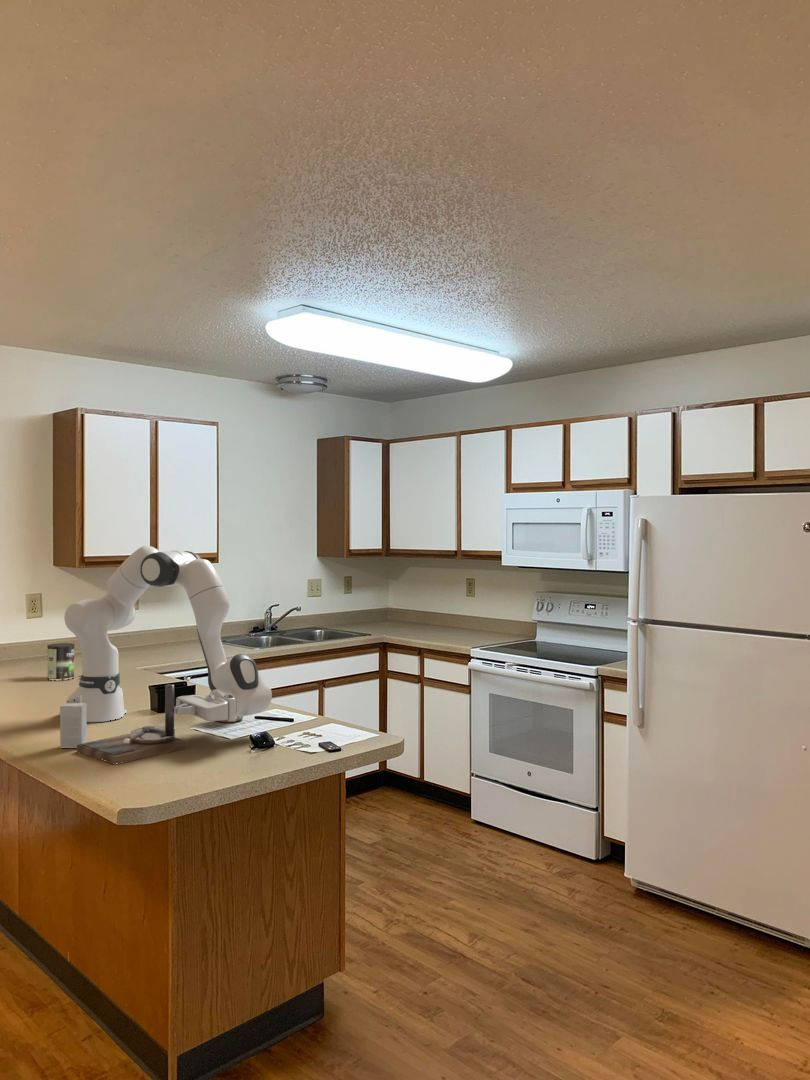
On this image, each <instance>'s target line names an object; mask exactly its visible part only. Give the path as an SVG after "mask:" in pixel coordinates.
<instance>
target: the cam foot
mask: <svg viewBox="0 0 810 1080" xmlns="http://www.w3.org/2000/svg"><path fill="white" fill-rule="evenodd" d="M164 687H165V691H164V693H165V694H164V697H165V698H164V699H165V700H164V701H165V703H164V726H163V725H148V726H147V725H145V726H141V727H139V728H136V729H133V730H131V731H130V733H131V738H130V739H128V738H125V739H124V740H123V743H124V745H128V744H130V741H132V742H134V743H140V744H154V743H162V742H167V741H170V740H173V739H174V738H176V729H175V713H174V707H175V684H173V683H172V684H170V683H168V684H165V686H164Z"/></svg>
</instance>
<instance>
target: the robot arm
mask: <svg viewBox="0 0 810 1080" xmlns="http://www.w3.org/2000/svg"><path fill="white" fill-rule="evenodd" d="M150 586H153V587H160V588H162V587H177V586H181V587H183V589H184V590H185V592H186V595H187V598H188V600H189V603H190V605H191V608H192V612H193V614H194V615H193V616H194V619H195V625H196V631H197V636H198V640H199V644H200V646H201V650H202V654H203V658H204V660H205V663H206V667H207V683H208V687H209V689H210V692H209V694H208V695H206V696H205V695H203V694H190V695H188V694H187V695H181V696H178V697H176V698H175V706H174V715H175V714H176V715H178V716H181V715H191V716H194V717H196V718H199V719H202V720H204V721H208V722H216V721H219V720H226V721H233V720H235V717H236V716H243V717H247V716H252V715H257V714H261V713H263V712H265V711H266V710H267V709H268V708H269V707H270V705H271V704H272V703H271V702H272V698H273V693H272V689H271V687H270V686H269V685H268V684H267V683H266V682H265V681H264V679H262V676H261V675H260V673H259V669H258V664H257V663H256V661H255V659H253V658H252V657H251V656H250V655H248V654H245V653H238V654H235V655H234V656H232V657H231V658H229V659H227V655H226V652H225V649H224V646H223V643H222V638H221V630H222V627H223V624H224V621H225V619H226V617H227V615H228V614H229V611H230V601H229V597H228V596H229V595H228V593H227V591H226V590H227V589H226V588H225V585H224V583H223V581H222V579H221V577H220V575H219V573H218V571H217V570H216V569H215V567H214V566H213V564H212V562H210V560H208V559H205V558H201V556H200V555H199V554H197V553H195V552H192V551H187V550H184V551H182V550H169V551H160V550H158V549H157V548H156V547H154V546H151V545H143V546H141V547H139V548H137V549H136V550H135V551H134V552H133V553H132V554H130V555H129V556H128V557H127V558H125V560H124V561H123V562H121V564H120V566H119V567H118V568H117V569H116V570H115V571H114V572H113V574H112V575H110V577H109V579H108V580H107V583H106V589H107V592H106V593H105V595H103V596H101V597H97V598H88V599H82V600H78V601H75V602H73V603H71V604H70V605H69V606H68V607H67V608H66V610H65V612H64V619H63V620H64V624H65V626H66V628H67V630H69V631H70V632H71V633H73V635H75V636H74V637H76V640H77V641H78V644H79V647H80V650H81V651H80V652H81V662H82V665H81V666H82V667H81V670H82V673H81V675H79V676H78V680H79V682H78V687H76V689H75V690H74V691H73V692H72V693H71V694H70V695H69V696H68V698H67V700H66V703H86V715H87V717H86V718H87V723H101V722H110V720H111V721H114V720H115V719H116V720H119V719H121V717H122V718H123V717H124V715H126V714H128V711H127V710H128V709H125V705H124V695H123V689H122V688H121V687H120V684H121V675H120V674H121V673H119V656H120V655H119V649H118V648H117V647H116V646H115V645H114V644H112V643H111V641H110V639H109V634H108V632H111V631H117V630H120V629H123V628H125V627H127V626H129V625H131V624H132V622H134V620H135V616H136V608H135V606H136V603H137V601H139V599H140V597H142V596H143V594H144V593H145V592H146V591H147V590H148V589H149V587H150ZM125 713H126V714H125ZM58 715H59V716H60V712H59V714H58ZM219 722H220V721H219Z"/></svg>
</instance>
